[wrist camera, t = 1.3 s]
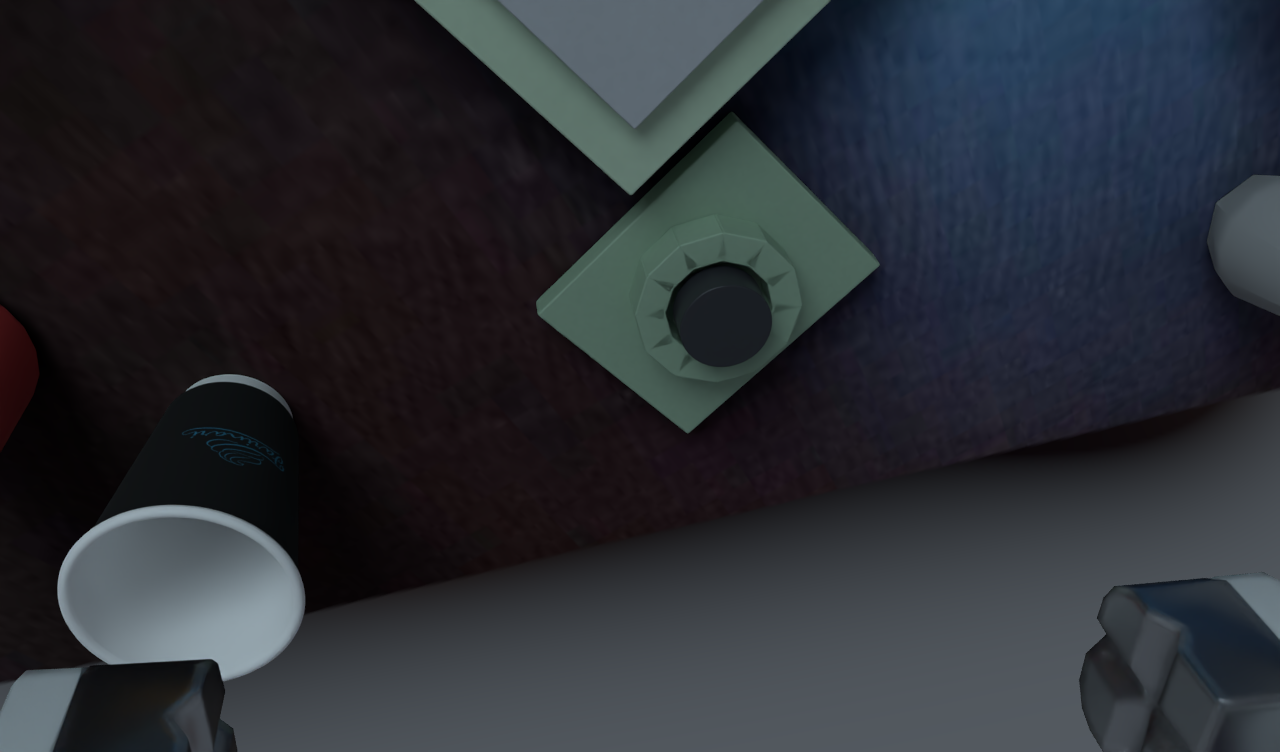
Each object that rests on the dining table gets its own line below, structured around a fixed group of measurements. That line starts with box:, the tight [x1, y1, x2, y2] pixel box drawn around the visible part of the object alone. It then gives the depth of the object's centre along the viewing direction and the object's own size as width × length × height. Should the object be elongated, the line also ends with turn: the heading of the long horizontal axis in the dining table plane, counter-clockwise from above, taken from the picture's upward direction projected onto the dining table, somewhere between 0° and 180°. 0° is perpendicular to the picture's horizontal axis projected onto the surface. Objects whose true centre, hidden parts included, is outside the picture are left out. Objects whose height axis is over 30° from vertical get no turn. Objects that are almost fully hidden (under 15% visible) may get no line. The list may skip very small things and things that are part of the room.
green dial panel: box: [536, 112, 880, 433], centre depth 46 cm, size 11×9×3 cm
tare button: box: [673, 266, 772, 367], centre depth 45 cm, size 4×4×2 cm
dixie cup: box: [58, 374, 305, 681], centre depth 43 cm, size 8×8×11 cm
